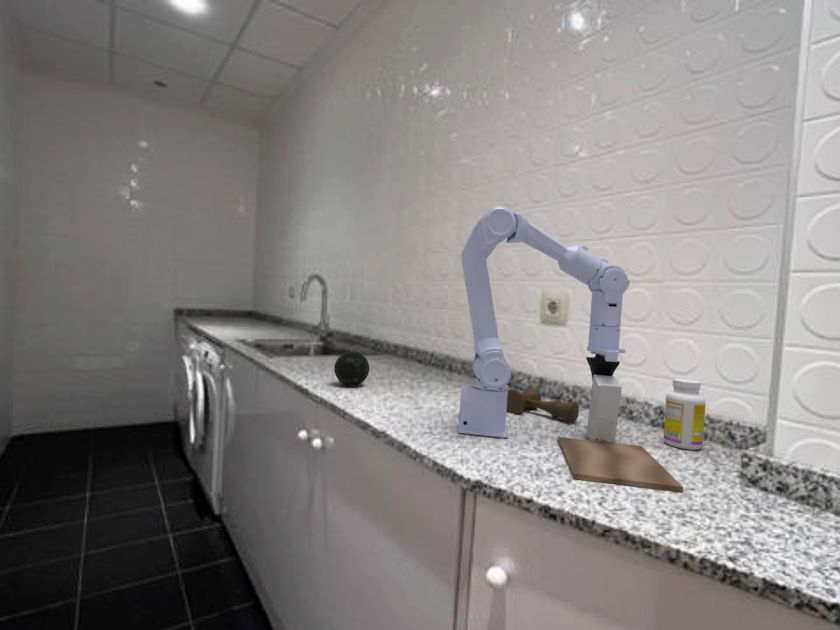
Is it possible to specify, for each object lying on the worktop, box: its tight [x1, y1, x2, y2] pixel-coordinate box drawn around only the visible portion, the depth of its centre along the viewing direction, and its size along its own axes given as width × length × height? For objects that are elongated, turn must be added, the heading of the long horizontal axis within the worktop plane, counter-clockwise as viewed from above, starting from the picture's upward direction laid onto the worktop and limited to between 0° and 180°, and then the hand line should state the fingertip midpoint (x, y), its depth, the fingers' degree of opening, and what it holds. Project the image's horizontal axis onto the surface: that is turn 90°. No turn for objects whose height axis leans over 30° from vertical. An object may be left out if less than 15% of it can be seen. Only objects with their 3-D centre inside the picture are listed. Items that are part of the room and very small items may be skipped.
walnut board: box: [557, 436, 684, 493], centre depth 74 cm, size 15×19×1 cm
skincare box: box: [586, 375, 623, 443], centre depth 85 cm, size 6×4×12 cm
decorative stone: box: [333, 350, 370, 386], centre depth 127 cm, size 10×10×10 cm
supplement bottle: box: [663, 378, 706, 451], centre depth 86 cm, size 7×7×13 cm
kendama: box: [506, 387, 580, 425], centre depth 105 cm, size 6×10×20 cm
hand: (600, 393), depth 88 cm, fingers closed
